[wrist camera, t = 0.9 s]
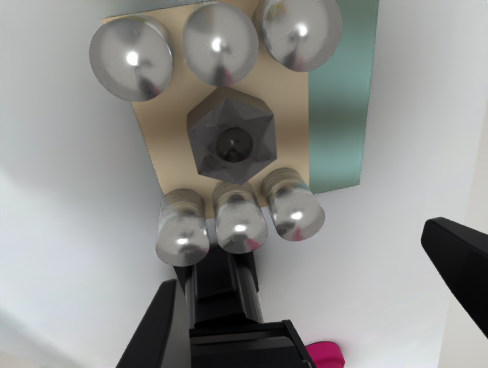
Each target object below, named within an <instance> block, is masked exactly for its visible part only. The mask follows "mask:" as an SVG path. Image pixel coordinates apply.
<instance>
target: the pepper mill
mask: <svg viewBox="0 0 488 368" xmlns="http://www.w3.org/2000/svg"><path fill="white" fill-rule="evenodd" d="M306 349H307V351H308V353H309V355H310V356H311V358H312V360H313V362H314V364H315V366H316V368H343V367H344V364H345V360H344V358H343V356H342V353H341V351H340V349H339V347H338V346H337V345H336V344H334V343H331V342H319V343H315V344H312V345H309V346H306Z"/></svg>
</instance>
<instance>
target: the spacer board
mask: <svg viewBox="0 0 488 368" xmlns="http://www.w3.org/2000/svg"><path fill="white" fill-rule="evenodd" d="M260 1H261V0H214V1H208V2H219V3H226V4H230V5H233V6H235V7H237V8H239V9H240V10H242V11H243V12H244V13H245V14H246V15H247V16H248V17H249V18H250V20H251V21H252V16H253V13H254V11H255V8H256V7H257V5H258V3H259V2H260ZM335 1H336V3H337V5H338V6H339V9H340V12H341V16H342V34H341V38H340V41H339V44H338V46H337V48H336V50H335V52H334V53H333V55H332V56H331V57H330V58H329V60H328V61H327V62H325V63H324V64H323V65H322V66H320V67H318V68H317V69H314V70H312V71H308V72H295V71H292V70H289V69H288V68H286V67H284V66H283V65H281V64H280V63H279V62H277V61H276V60H274V59H273V58H271V57H270V56H268V55H267V54H265V53H264V52H263V51H261V50H260V49H258V56H257V59H256V62H255V64H254V67H253V68H252V70H251V71H250V73H249V74H248V75H247V76H246V77H245V78H244V79H243V80H241V81H240V82H238V83H236V84H233V85H230V86H227V87H229V88H232V89H235V90H237V91H240V92H243V93H245V94H248V95H251V96H253V97H256V98H259V99H261V100H263V101H264V102H265V103H266V105H267V106H268V107H269V109H270V110H271V111H272V112H273V114H274V122H275V135H276V148H277V159H276V160H275V161H273V162H272V163H271V164H269V165H268V166H267V167H265V168H264V169H263V170H261V171H260V172H259V173H257V174H256V175H255V176H253V177H252V178H251V179H249V180H248V182H249V183H250V184H251V185H252V187H253V189H254V192H255V195H256V198H257V200H258V203H259V206H260V208H261V207H265V206H267V205H266V203H265V200H264V198H263V195H262V193H261V185H262V182H263V180H264V178H265V177H266V176H267V175H268V174H269V173H270V172H271V171H273V170H275V169H278V168H282V167H288V168H292V169H295V170H296V171H298V173H299V174H300V175H301V177H302V178H303V180H304V181H305V183H306V184H307V186H308V187H309V189H310V190H311V192H312V193H313V194H318V193H323V192H327V191H332V190H337V189H342V188H346V187H351V186H356V185H359V183H360V173H361V164H362V155H363V145H364V136H365V127H366V117H367V108H368V99H369V89H370V80H371V71H372V61H373V52H374V43H375V33H376V24H377V15H378V5H379V0H335ZM202 3H205V2H201V3H195V4H189V5H183V6H176V7H170V8H164V9H158V10H151V11H145V12H139V13H140V14H146V15H149V16H152V17H154V18H156V19H157V20H159V21H160V22H161V23H162V24H163V25H164V26H165V27H166V28H167V29H168V31H169V33H170V34H171V36H172V39H173V42H174V47H175V56H174V62H173V69H172V74H171V78H170V81H169V83H168V85H167V87H166V88H165V90H164V91H163V92H162V93H161V94H160V95H158V96H157V97H155V98H153V99H151V100H148V101H143V102H132V101H131V104H132V107H133V110H134V112H135V115H136V118H137V121H138V124H139V127H140V130H141V132H142V135H143V138H144V141H145V144H146V147H147V149H148V152H149V155H150V158H151V161H152V164H153V166H154V169H155V172H156V175H157V178H158V181H159V183H160V186H161V189H162V192H163V195H164V196H165V195H166V194H167V193H169V192H170V191H172V190H175V189H180V188H187V189H191V190H194V191H196V192H198V193H199V194H200V195H201V196H202V197H203V199H204V201H205V208H206V218H207V219H209V218H214V213H213V206H212V192H213V190H214V188H215V187H216V185H217V184H219V183H220V182H221V180H217V179H213V178H210V177H206V176H202V175H198V172H197V168H196V164H195V160H194V157H193V153H192V149H191V145H190V141H189V137H188V133H187V114H188V113H189V112H190V111H191V110H192V109H193V108H194V107H196V106H197V105H198V104H199V103H200V102H201V101H203V100H204V99H205V98H206V97H207V96H208V95H210V94H211V93H212V92H213V91H214V90H215V89H216V88H218V86H212V85H209V84H207V83H205V82H203V81H201V80H200V79H199V78H197V77H196V76H195V75H194V74H193V72H192V71H191V70H190V68H189V67H188V65H187V63H186V60H185V57H184V54H183V44H182V43H183V27H184V23H185V20H186V18H187V16H188V14H189V13H190V12H191V11H192V9H194V8H195V7H196V6H198V5H199V4H202ZM133 14H137V13H133ZM127 15H131V14H126V15H120V16H114V17H108V18H103V19H102V22H103V24H105V23H107V22H109V21H112V20H115V19H118V18H121V17H124V16H127Z"/></svg>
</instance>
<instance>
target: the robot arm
mask: <svg viewBox="0 0 488 368" xmlns="http://www.w3.org/2000/svg"><path fill="white" fill-rule="evenodd" d="M421 244H422V247H423V249H424V250H425V252H426V253H427V255H428V256H429V258H430V260H431V261H432V263H433V264H434V266H435V267H436V269H437V271H438V272H439V274H440V275H441V277H442V278H443V280H444V282H445V283H446V285H447V286H448V288H449V289H450V291H451V292H452V293H453V294H454V296H455V297H456V299H457V300H458V301H459V302H460V304H461V305H462V307H463V308H464V309H465V310H466V312H467V313H468V314H469V315H470V317H471V318H472V319H473V321H474V322H475V323H476V324H477V326H478V327H479V328H480V330H482V332H483V333H484V335H485V336H486V337H487V339H488V235H487V234H484V233H482V232H479V231H477V230H474V229H472V228H469V227H466V226H464V225H462V224H459V223H456V222H454V221H451V220H449V219H446V218H443V217H437V218H432V219H429V220H427V221H426V222H425V225H424V229H423V233H422V236H421ZM173 267H174V269H175V272H176V274H177V277H178V279H179V281H178V280H177V279H172V280H168V281H164V282H163V283H162V284H161V285H160V287H159V289H158V291H157V293H156V294H155V296H154V298H153V300H152V302H151V304H150V305H149V307H148V309H147V311H146V313H145V315H144V316H143V318H142V320H141V322H140V324H139V326H138V328H137V329H136V331H135V333H134V335H133V337H132V339H131V340H130V342H129V344H128V346H127V348H126V350H125V351H124V353H123V355H122V357H121V359H120V361H119V362H118V364H117V366H116V368H316V366H315V364H314V362H313V360H312V358H311V356H310V355H309V353H308V351H307V349H306V347H305V346H304V344H303V342H302V340H301V338H300V337H299V335H298V333H297V331H296V329H295V328H294V326H293V324H292V322H291V321H290V320H282V322H269V323H264V321H263V317H262V313H261V309H260V305H259V301H258V297H257V293H258V291H259V288H258V281H257V275H256V269H255V263H254V257H253V251H250V252H247V253H242V254H235V253H230V252H227V251H225V250H224V249H222V248H221V247H217V248H212V249H209V251H208V253H207V255H206V256H205V257H204V258H203V259H202V260H201V261H199V262H198V263H196V264H193V265H190V266H173ZM179 282H180V283H179ZM180 284H181V286H180ZM181 287H182V288H181ZM182 290H183V291H182ZM183 292H184V293H183Z"/></svg>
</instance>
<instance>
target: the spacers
mask: <svg viewBox="0 0 488 368" xmlns="http://www.w3.org/2000/svg"><path fill="white" fill-rule="evenodd" d="M341 34H342V16H341V12H340V9H339V6H338V5H337V3H336V1H335V0H261V1H260V2H259V3H258V5H257V7H256V8H255V11H254V13H253V16H252V21H251V20H250V18H249V17H248V16H247V15H246V14H245V13H244V12H243V11H242V10H240V9H239V8H237V7H235V6H233V5H230V4H226V3H219V2H205V3H202V4H199V5H198V6H196V7H195V8H194V9H192V11H191V12H190V13H189V14H188V16H187V18H186V20H185V23H184V27H183V43H182V44H183V54H184V57H185V60H186V63H187V65H188V67H189V68H190V70H191V71H192V72H193V74H194V75H195V76H196V77H197V78H199V79H200V80H201V81H203V82H205V83H207V84H209V85H212V86H218V87H225V86H230V85H233V84H236V83H238V82H240V81H241V80H243V79H244V78H245V77H246V76H247V75H248V74H249V73H250V71H251V70H252V68H253V67H254V64H255V62H256V59H257V56H258V49H260V50H261V51H263V52H264V53H265V54H267V55H268V56H270V57H271V58H273V59H274V60H276V61H277V62H279V63H280V64H281V65H283V66H284V67H286V68H288V69H289V70H292V71H295V72H308V71H312V70H314V69H317V68H318V67H320V66H322V65H323V64H324V63H325V62H327V61H328V60H329V58H330V57H331V56H332V55H333V53H334V52H335V50H336V48H337V46H338V44H339V41H340V38H341ZM89 55H90V63H91V66H92V69H93V72H94V74H95V76H96V77H97V79H98V80H99V82H100V83H101V84H102V85H103V86H104V87H105V89H107V90H108V91H109V92H110V93H112V94H113V95H115V96H117V97H119V98H121V99H124V100H127V101H132V102H143V101H148V100H151V99H153V98H155V97H157V96H158V95H160V94H161V93H162V92H163V91H164V90H165V88H166V87H167V85H168V83H169V81H170V78H171V74H172V69H173V62H174V56H175V47H174V42H173V39H172V36H171V34H170V33H169V31H168V29H167V28H166V27H165V26H164V25H163V24H162V23H161V22H160V21H159V20H157V19H156V18H154V17H152V16H149V15H146V14H140V13H137V14H131V15H127V16H124V17H121V18H118V19H115V20H112V21H109V22H107V23H105V24H104V25H102V26H101V27H100V28H99V29H98V30H97V32H96V33H95V34H94V36H93V38H92V41H91V44H90V51H89ZM261 193H262V195H263V198H264V200H265V203H266V205H267V208H268V210H269V213H270V215H271V218H272V220H273V223H274V225H275V228H276V230H277V233H278V234H279V236H280V237H282V238H283V239H285V240H288V241H301V240H305V239H307V238H309V237H311V236H313V235H314V234H316V233H317V232H318V231H319V230H320V228H321V227H322V225H323V223H324V220H325V213H324V210H323V209H322V207H321V206H320V204H319V203H318V201H317V200H316V198H315V197H314V195H313V193H312V192H311V190H310V189H309V187H308V186H307V184H306V183H305V181H304V180H303V178H302V177H301V175H300V174H299V173H298V171H296V170H295V169H292V168H288V167H282V168H278V169H275V170H273V171H271V172H270V173H269V174H268V175H267V176H266V177H265V178H264V180H263V182H262V185H261ZM212 206H213V213H214V220H215V228H216V235H217V241H218V244H219V245H220V247H221V248H222V249H224V250H225V251H227V252H230V253H235V254H242V253H247V252H250V251H253V250H255V249H257V248H258V247H259V246H261V245H262V244H263V242H264V241H265V239H266V237H267V234H268V229H267V225H266V222H265V220H264V217H263V214H262V211H261V209H260V206H259V203H258V200H257V198H256V195H255V192H254V189H253V187H252V185H251V184H250V183H249V182H248V181H247V182H245V183H244V184H243V185H237V184H233V183H229V182H225V181H221V182H220V183H219V184H217V185H216V187H215V188H214V190H213V192H212ZM208 251H209V237H208V228H207V218H206V208H205V201H204V199H203V197H202V196H201V195H200V194H199V193H198V192H196V191H194V190H191V189H187V188H180V189H175V190H172V191H170V192H169V193H167V194H166V195H165V196H164V197H163V199H162V201H161V206H160V215H159V224H158V233H157V241H156V253H157V255H158V257H159V258H160V259H161V260H162V261H163V262H165V263H167V264H169V265H173V266H190V265H193V264H196V263H198V262H199V261H201V260H202V259H203V258H204V257H205V256H206V255H207V253H208Z"/></svg>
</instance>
